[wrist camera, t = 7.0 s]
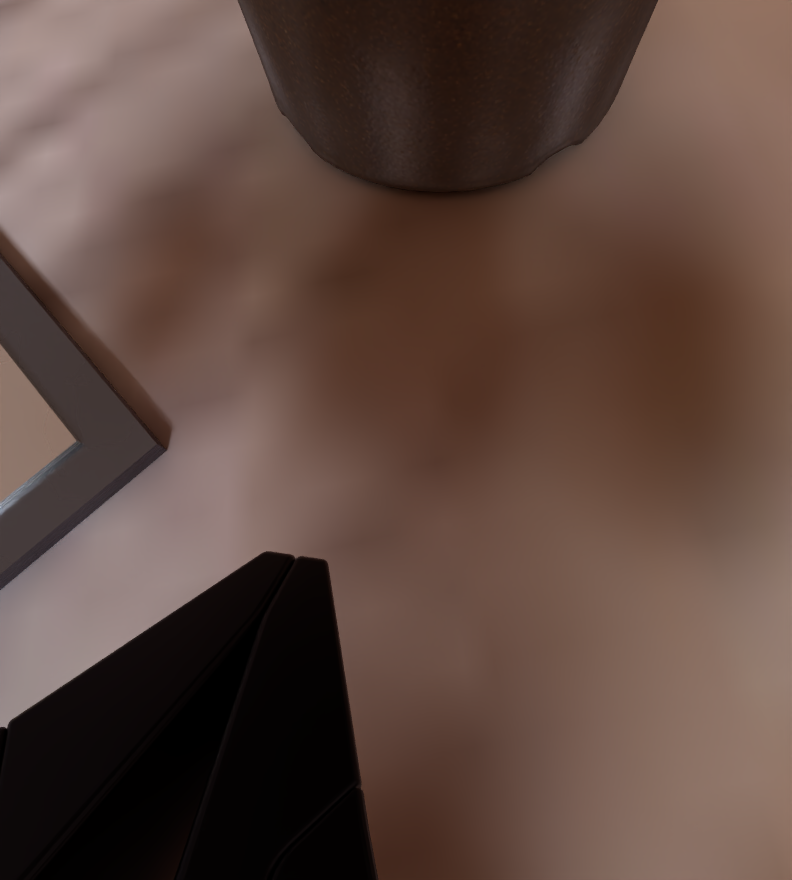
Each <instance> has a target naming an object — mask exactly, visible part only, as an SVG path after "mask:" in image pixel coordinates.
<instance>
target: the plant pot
mask: <svg viewBox="0 0 792 880" xmlns="http://www.w3.org/2000/svg"><path fill="white" fill-rule="evenodd" d="M657 2H658V0H238V3H239V5H240V8H241V10H242V13H243V15H244V18H245V21H246V23H247V26H248V28H249V31H250V34H251V36H252V39H253V41H254V44H255V47H256V49H257V52H258V54H259V57H260V60H261V62H262V65H263V68H264V70H265V73H266V76H267V78H268V81H269V84H270V87H271V90H272V93H273V95H274V98H275V101H276V103H277V105H278V108H279V109H280V111H281V113H282V114H283V115H285V116H286V117H287V118H288V119H289V120H290V122H291V123H292V124H293V126H294V127H295V128H296V129H297V131H298V132H299V133H300V134H301V135H302V137H303V138H304V139H305V140H306V142H307V143H308V144H309V146H310V147H311V148H312V150H313V151H314V152H315V153H316V154H317V155H318V156H320V157H321V158H322V159H323V160H325V161H327V162H328V163H330V164H332V165H334V166H335V167H337V168H339V169H341V170H343V171H345V172H347V173H349V174H351V175H353V176H356V177H359V178H362V179H365V180H368V181H371V182H374V183H377V184H380V185H385V186H390V187H395V188H400V189H406V190H418V191H431V192H452V191H465V190H475V189H480V188H486V187H491V186H496V185H500V184H503V183H507V182H511V181H515V180H518V179H520V178H523V177H525V176H528V175H530V174H531V173H532V172H533V171H534V170H535V169H536V168H537V167H539V166H540V165H541V164H542V163H543V162H544V161H545V160H546V159H548V158H549V157H550V156H552V155H553V154H555V153H557V152H559V151H560V150H562V149H564V148H566V147H567V146H570V145H578V144H580V143H582V142H583V141H584V140H585V139H586V138H587V137H588V136H589V135H590V134H591V133H592V132H593V130H594V129H595V128H596V127H597V126H598V125H599V123H600V122H601V121H602V119H603V118H604V116H605V115H606V113H607V112H608V110H609V108H610V107H611V105H612V103H613V101H614V99H615V97H616V95H617V94H618V91H619V89H620V87H621V84H622V82H623V80H624V77H625V75H626V73H627V70H628V68H629V66H630V63H631V61H632V59H633V56H634V54H635V52H636V49H637V47H638V45H639V43H640V40H641V38H642V36H643V33H644V31H645V29H646V27H647V24H648V22H649V20H650V18H651V15H652V13H653V11H654V9H655V6H656V4H657Z"/></svg>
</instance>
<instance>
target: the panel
mask: <svg viewBox="0 0 792 880" xmlns="http://www.w3.org/2000/svg"><path fill="white" fill-rule="evenodd" d="M165 451H167V450H166V449H165V448H164V447H163V445H162V444H161V443H160V442H159V441H158V440H157V438H156V437H155V436H154V435H153V434H152V432H151V431H150V430H149V429H148V428H147V426H146V425H145V424H144V423H143V422H142V421H141V419H140V418H139V417H138V416H137V415H136V413H135V412H134V411H133V410H132V409H131V408H130V406H129V405H128V404H127V403H126V402H125V400H124V399H123V398H122V397H121V396H120V394H119V393H118V392H117V391H116V390H115V389H114V387H113V386H112V385H111V384H110V383H109V381H108V380H107V379H106V378H105V377H104V376H103V374H102V373H101V372H100V371H99V370H98V368H97V367H96V366H95V365H94V364H93V362H92V361H91V360H90V359H89V358H88V357H87V355H86V354H85V353H84V352H83V351H82V349H81V348H80V347H79V346H78V345H77V344H76V342H75V341H74V340H73V339H72V338H71V336H70V335H69V334H68V333H67V332H66V330H65V329H64V328H63V327H62V326H61V325H60V323H59V322H58V321H57V320H56V319H55V317H54V316H53V315H52V314H51V313H50V312H49V310H48V309H47V308H46V307H45V306H44V304H43V303H42V302H41V301H40V300H39V298H38V297H37V296H36V295H35V294H34V293H33V291H32V290H31V289H30V288H29V287H28V285H27V284H26V283H25V282H24V281H23V280H22V278H21V277H20V276H19V275H18V274H17V272H16V271H15V270H14V269H13V268H12V266H11V265H10V264H9V263H8V262H7V261H6V259H5V258H4V257H3V256H2V255H1V253H0V590H1V589H2V588H3V587H4V586H5V585H7V584H8V583H9V582H10V581H11V580H13V579H14V578H15V577H16V576H17V575H19V574H20V573H21V572H22V571H23V570H25V569H26V568H27V567H28V566H29V565H30V564H32V563H33V562H34V561H35V560H36V559H38V558H39V557H40V556H41V555H42V554H44V553H45V552H46V551H47V550H48V549H50V548H51V547H52V546H53V545H54V544H56V543H57V542H58V541H59V540H60V539H62V538H63V537H64V536H65V535H66V534H67V533H69V532H70V531H71V530H72V529H73V528H75V527H76V526H77V525H78V524H79V523H81V522H82V521H83V520H84V519H85V518H87V517H88V516H89V515H90V514H91V513H93V512H94V511H95V510H96V509H97V508H99V507H100V506H101V505H102V504H103V503H104V502H106V501H107V500H108V499H109V498H110V497H112V496H113V495H114V494H115V493H116V492H118V491H119V490H120V489H121V488H122V487H124V486H125V485H126V484H127V483H128V482H130V481H131V480H132V479H133V478H134V477H136V476H137V475H138V474H139V473H140V472H141V471H143V470H144V469H145V468H146V467H147V466H149V465H150V464H151V463H152V462H153V461H155V460H156V459H157V458H158V457H159V456H161V455H162V454H163V453H164V452H165Z"/></svg>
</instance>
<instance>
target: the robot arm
mask: <svg viewBox="0 0 792 880" xmlns="http://www.w3.org/2000/svg"><path fill="white" fill-rule="evenodd" d="M0 880H378V876H377V870H376V865H375V859H374V854H373V849H372V843H371V838H370V833H369V827H368V820H367V813H366V807H365V800H364V794H363V791H362V790H361V776H360V770H359V763H358V757H357V750H356V744H355V737H354V731H353V724H352V717H351V711H350V704H349V698H348V691H347V685H346V678H345V672H344V665H343V659H342V652H341V645H340V639H339V632H338V626H337V619H336V613H335V606H334V600H333V593H332V587H331V580H330V573H329V567H328V563H327V561H326V560H324V559H318V558H311V557H304V556H300V557H298V558H295V557H294V556H293V555H291V554H284V553H277V552H271V551H266V552H264V553H262V554H260V555H258V556H257V557H255V558H254V559H252V560H251V561H249V562H248V563H246V564H245V565H243V566H242V567H240V568H239V569H237V570H236V571H234V572H233V573H231V574H230V575H228V576H227V577H225V578H224V579H222V580H221V581H219V582H218V583H216V584H215V585H213V586H212V587H210V588H209V589H207V590H206V591H204V592H203V593H201V594H200V595H198V596H197V597H195V598H194V599H192V600H191V601H189V602H188V603H186V604H185V605H183V606H182V607H180V608H179V609H177V610H176V611H174V612H173V613H171V614H170V615H168V616H167V617H165V618H164V619H162V620H161V621H159V622H158V623H156V624H155V625H153V626H152V627H150V628H149V629H147V630H146V631H144V632H143V633H141V634H140V635H138V636H137V637H135V638H134V639H132V640H131V641H129V642H128V643H126V644H125V645H123V646H122V647H120V648H119V649H117V650H116V651H114V652H113V653H111V654H110V655H108V656H107V657H105V658H104V659H102V660H101V661H99V662H98V663H96V664H95V665H93V666H92V667H90V668H89V669H87V670H86V671H84V672H83V673H81V674H80V675H78V676H77V677H75V678H74V679H72V680H71V681H69V682H68V683H66V684H65V685H63V686H62V687H60V688H59V689H57V690H56V691H54V692H53V693H51V694H50V695H48V696H47V697H45V698H44V699H42V700H41V701H39V702H38V703H36V704H35V705H33V706H32V707H30V708H29V709H27V710H26V711H24V712H23V713H21V714H20V715H18V716H17V717H15V718H14V719H12V720H11V721H10V722H9V724H8V727H7V728H5V727H0Z"/></svg>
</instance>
